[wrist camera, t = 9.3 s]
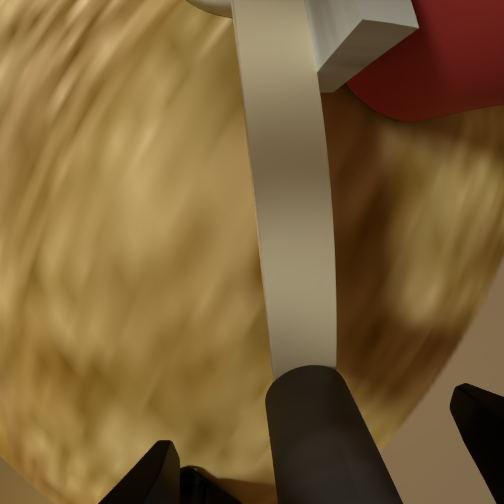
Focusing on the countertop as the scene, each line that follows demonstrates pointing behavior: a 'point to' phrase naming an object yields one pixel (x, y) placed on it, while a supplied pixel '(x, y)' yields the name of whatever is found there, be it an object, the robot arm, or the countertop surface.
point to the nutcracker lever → (307, 233)
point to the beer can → (439, 63)
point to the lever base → (214, 6)
